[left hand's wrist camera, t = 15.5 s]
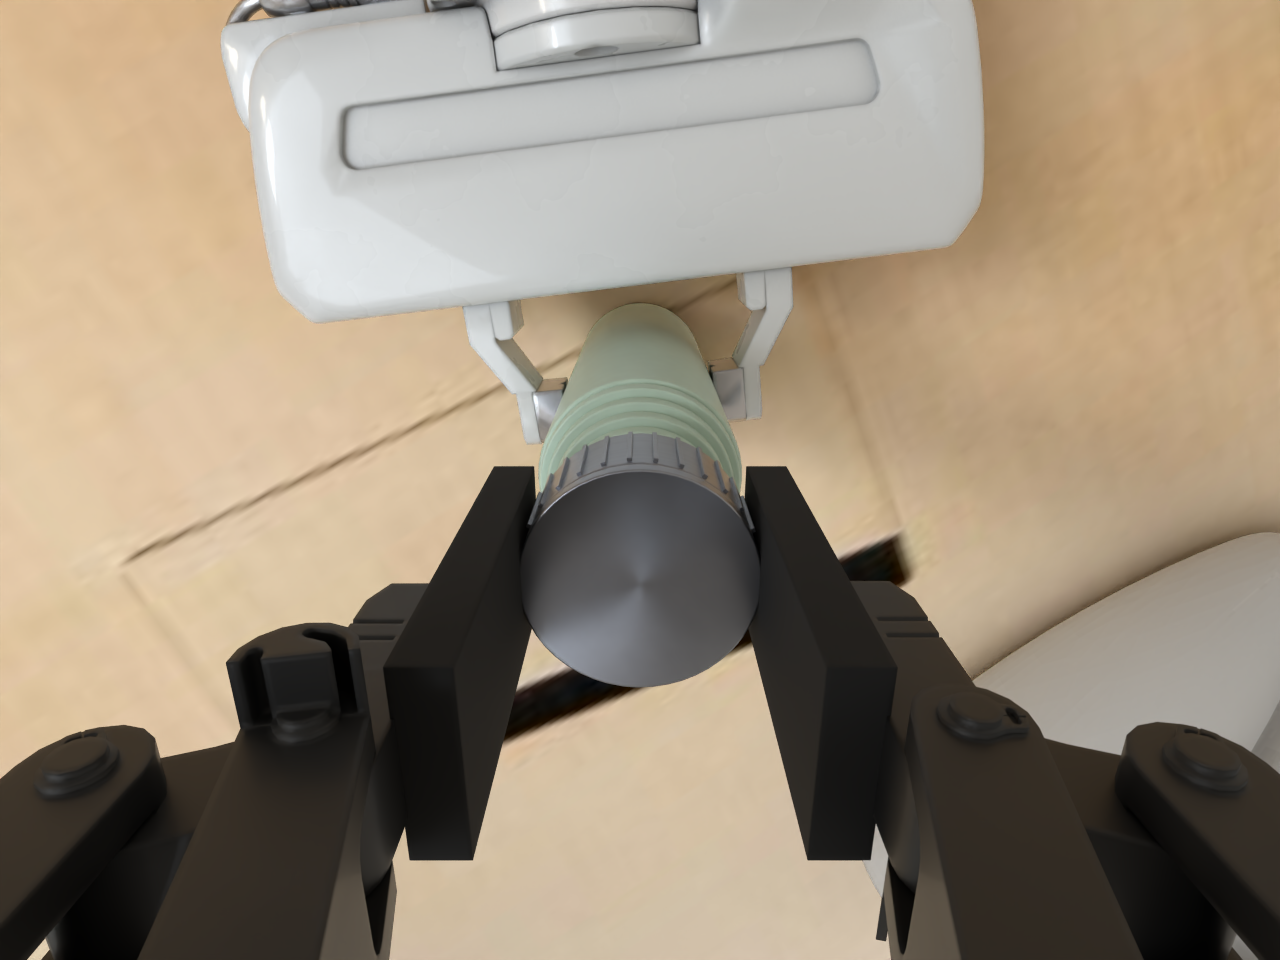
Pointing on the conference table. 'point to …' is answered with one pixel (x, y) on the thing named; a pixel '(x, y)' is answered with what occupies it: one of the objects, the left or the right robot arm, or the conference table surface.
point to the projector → (1158, 662)
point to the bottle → (640, 390)
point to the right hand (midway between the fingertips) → (644, 427)
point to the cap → (640, 562)
